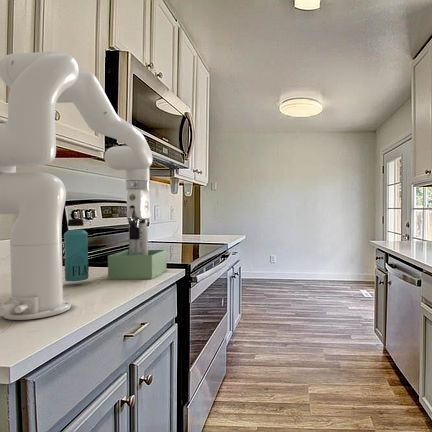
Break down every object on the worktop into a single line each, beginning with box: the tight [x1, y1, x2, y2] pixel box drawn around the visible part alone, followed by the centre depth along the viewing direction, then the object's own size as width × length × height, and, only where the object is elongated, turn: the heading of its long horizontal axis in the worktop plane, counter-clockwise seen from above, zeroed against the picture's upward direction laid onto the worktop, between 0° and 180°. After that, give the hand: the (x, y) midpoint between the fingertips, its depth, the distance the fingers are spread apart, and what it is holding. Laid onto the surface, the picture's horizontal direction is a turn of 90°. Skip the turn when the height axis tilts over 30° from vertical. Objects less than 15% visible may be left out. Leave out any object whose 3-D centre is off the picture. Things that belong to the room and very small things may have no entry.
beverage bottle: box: [63, 218, 90, 283], centre depth 108 cm, size 6×7×20 cm
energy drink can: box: [128, 223, 149, 256], centre depth 124 cm, size 6×6×15 cm
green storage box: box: [107, 249, 168, 280], centre depth 124 cm, size 15×14×8 cm
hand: (138, 237), depth 124 cm, fingers closed on energy drink can, 6 cm apart
